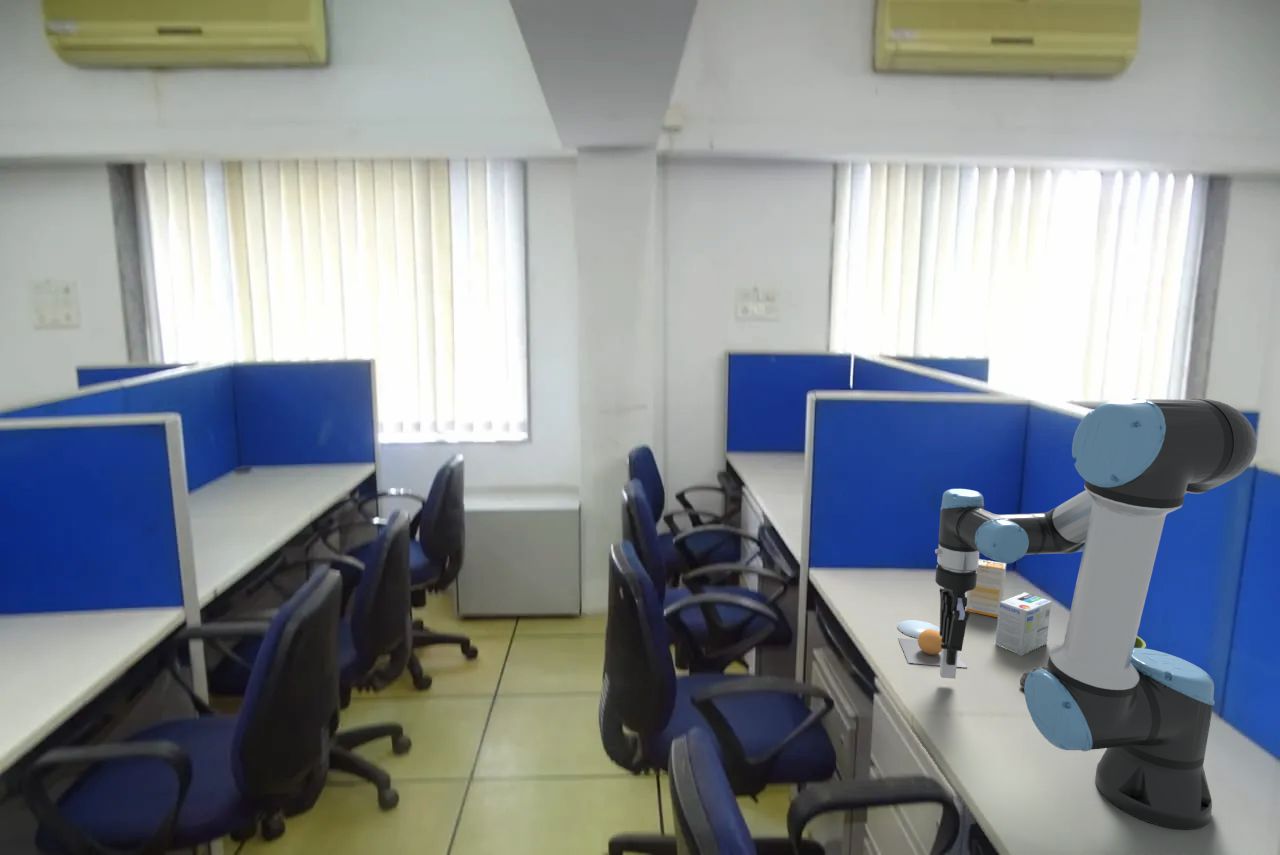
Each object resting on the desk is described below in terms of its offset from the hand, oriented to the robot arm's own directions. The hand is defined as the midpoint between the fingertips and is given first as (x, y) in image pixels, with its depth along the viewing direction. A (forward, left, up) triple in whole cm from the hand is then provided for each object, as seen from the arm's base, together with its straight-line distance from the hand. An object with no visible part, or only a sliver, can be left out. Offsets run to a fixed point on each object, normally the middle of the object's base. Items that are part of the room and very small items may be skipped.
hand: (947, 676), depth 150 cm
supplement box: (+40, -18, -2) cm, 44 cm away
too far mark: (+26, 0, -2) cm, 26 cm away
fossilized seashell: (-1, -20, -2) cm, 20 cm away
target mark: (+14, 0, -2) cm, 14 cm away
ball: (+14, 0, +1) cm, 14 cm away
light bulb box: (+22, -22, -2) cm, 31 cm away
